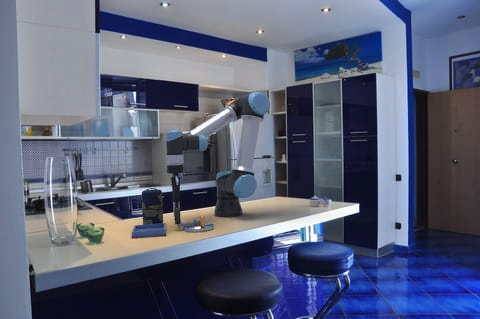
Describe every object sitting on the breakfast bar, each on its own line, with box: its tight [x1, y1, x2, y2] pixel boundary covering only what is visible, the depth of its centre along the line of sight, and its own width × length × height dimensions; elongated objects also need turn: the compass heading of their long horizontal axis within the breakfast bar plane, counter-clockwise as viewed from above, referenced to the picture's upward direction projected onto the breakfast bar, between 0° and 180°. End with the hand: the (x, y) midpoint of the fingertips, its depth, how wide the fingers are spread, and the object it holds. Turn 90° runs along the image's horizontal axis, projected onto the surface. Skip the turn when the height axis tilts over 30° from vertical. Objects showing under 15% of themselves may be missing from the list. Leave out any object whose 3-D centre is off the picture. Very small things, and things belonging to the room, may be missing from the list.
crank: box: [173, 207, 200, 228], centre depth 164 cm, size 12×4×8 cm, turn 102°
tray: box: [131, 222, 167, 239], centre depth 159 cm, size 14×15×2 cm
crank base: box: [182, 215, 215, 233], centre depth 165 cm, size 14×14×6 cm
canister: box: [141, 187, 164, 225], centre depth 175 cm, size 10×10×18 cm
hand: (176, 215), depth 170 cm, fingers closed
